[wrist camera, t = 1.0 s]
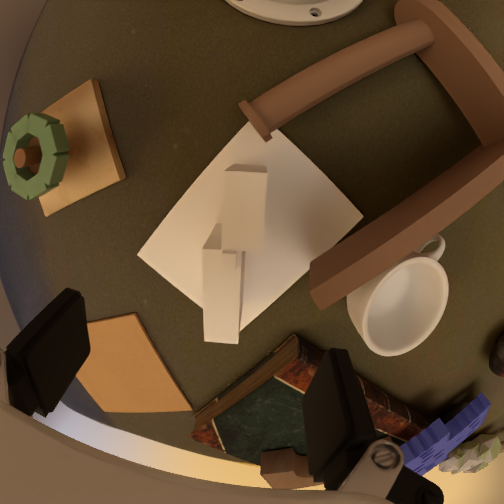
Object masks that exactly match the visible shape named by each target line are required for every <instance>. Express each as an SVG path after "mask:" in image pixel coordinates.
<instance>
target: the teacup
mask: <svg viewBox="0 0 504 504" xmlns="http://www.w3.org/2000/svg"><path fill="white" fill-rule="evenodd" d="M435 240H437V241H439V245H438V247H437V248H436V249H435V250H434V251H431V252H428V253H421V252H422V250H423V249H424V248H425V246H426V245H428V244H429V243H430V242H432V241H435ZM444 249H445V241H444V239H443V238H442V237H441V236H440V235H439V234H436V235H435V236H434V237H432V238H431V239H430V240H428V241H427V242H426V243H424V244H423V245H421V246H420V247H419V248H417V249H416V250H414V251H413V252H412V253H410V254H409V255H407V256H406V257H404V258H403V259H401V260H400V261H399V262H397V263H396V264H394V265H393V266H391V267H390V268H388V269H387V270H385V271H384V272H382V273H381V274H379V275H378V276H376V277H375V278H373V279H372V280H370V281H369V282H367V283H365V284H364V285H362V286H361V287H359V288H358V289H356V290H354V291H353V292H351V293H350V294H348V295H347V308H348V312H349V316H350V318H351V320H352V322H353V324H354V326H355V327H356V329H357V331H358V332H359V334H360V335H361V337H362V338H363V340H364V341H365V343H366V344H367V346H368V347H369V348H370V349H371V350H372V351H373V352H375V353H377V354H379V355H382V356H396V355H400V354H403V353H406V352H408V351H410V350H412V349H413V348H415V347H416V346H418V345H419V344H420V343H422V342H423V341H424V340H425V339H426V338H427V337H428V336H429V335H430V334H431V332H432V331H433V330H434V328H435V327H436V326H437V324H438V322H439V321H440V319H441V317H442V315H443V312H444V310H445V307H446V303H447V299H448V279H447V276H446V273H445V271H444V269H443V267H442V266H441V265H440V264H439V263H438V262H437V261H438V259H439V258H440V257H441V255H442V254H443V251H444Z"/></svg>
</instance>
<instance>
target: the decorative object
mask: <svg viewBox="0 0 504 504" xmlns="http://www.w3.org/2000/svg"><path fill="white" fill-rule="evenodd" d="M501 452H504V441H502V442H500V441H499V438H498V436H492V435H483V434H480V435H479V436H477V437H476V438H475V439H473V440H472V441H467V442H465V443H463V444H460V445H458V447H456V448H455V449H453V450H451V451H450V452H449V453H448V456H447V458H446V459H445V460H443V461H442V462H441V463H439V470H440V471H442V472H450V471H451V473H452V474H455V473H458V472H461V471H463V472H464V473H476V472H478V471H479V470H481V469H483V468H485V467H486V466H487V465H488V463H490V462H491V461H493V460H494V459H495V458H496V457H497V456H498V455H499V453H501Z"/></svg>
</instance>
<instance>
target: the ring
mask: <svg viewBox="0 0 504 504" xmlns="http://www.w3.org/2000/svg"><path fill="white" fill-rule="evenodd" d="M11 130H12V131H10V132H9V133H8V137H7V141H6V145H5V149H4V153H3V158H5V159H6V160H4V161H3V165H4V169H5V173H6V177H7V181H8V184H9V186H11V185H12V187H11V190H13V191H14V192H16V193H17V194H18V195H20V196H21V197H23V198H24V199H26V200H28V199H30V200H32V199H35V198H37V197H40V196H43V195H44V194H46V193H48V192H49V191H51V190H53V189H54V188H56V187H58V186H59V182H62V180H63V176H64V173H65V169H66V166H67V163H68V160H69V156H70V155H69V154H67V153H66V152H67V151H69V150H70V147H69V144H68V140H67V136H66V133H65V129H64V125H63V124H60V120H59V119H56V118H54V117H52V116H49V115H47V114H45V113H31V114H26V115H25V116H24V117H23V118H22V119H20V120H19V121H18V122H17V123H16V124H15V125H14V126H12V127H11ZM34 136H36V137H38V139H39V143H40V147H41V151H42V154H43V156H42V160H41V164H40V167H39V171H38V174H36V175H35V174H34V173H32V172H30V170H29V167H28V166H27V167H23V168H18V167H16V165H15V163H14V154H15V152H16V150H17V149H19V148H24V147H28V145H29V142H30V139H31V138H33V137H34Z"/></svg>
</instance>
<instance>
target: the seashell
mask: <svg viewBox="0 0 504 504" xmlns="http://www.w3.org/2000/svg"><path fill="white" fill-rule="evenodd" d="M489 367H490V369H491V371H492V372H493V373H494V374H496V375H498V376H501V377H504V334H503V335H502V336H501V337H500V338H499V339H498V340H497V342H496V343H495V345H494V346H493V348H492V350H491V353H490V357H489Z"/></svg>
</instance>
